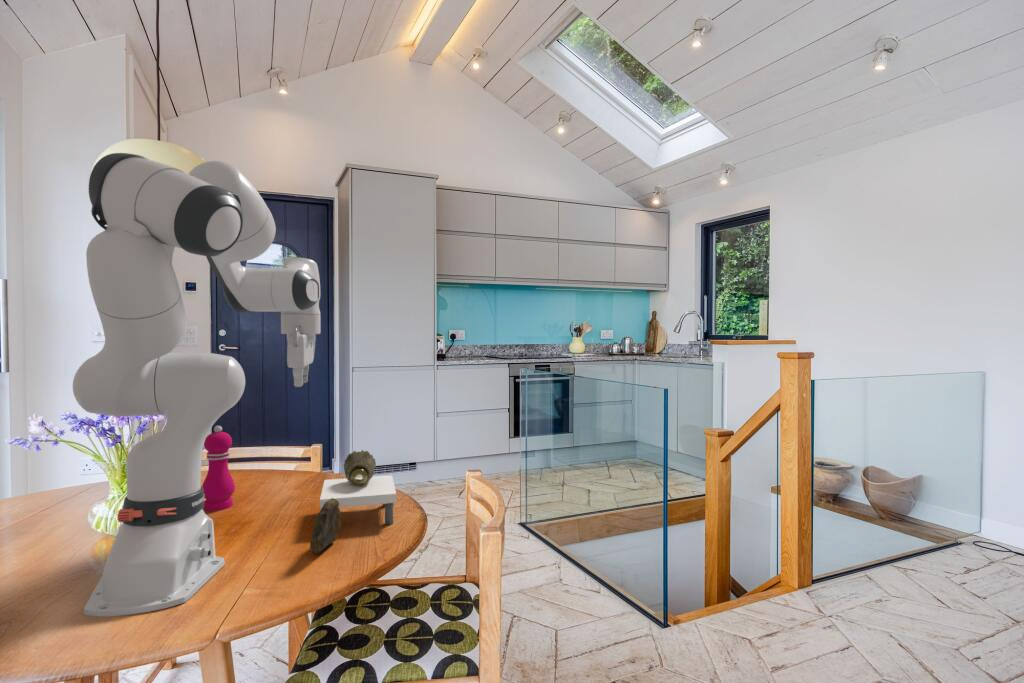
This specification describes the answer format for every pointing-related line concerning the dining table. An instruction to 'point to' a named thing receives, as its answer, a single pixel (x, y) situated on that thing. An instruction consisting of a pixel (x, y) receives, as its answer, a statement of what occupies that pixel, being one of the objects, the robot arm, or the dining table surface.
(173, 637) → the dining table surface
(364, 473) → the cup
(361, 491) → the footstool
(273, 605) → the dining table surface
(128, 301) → the robot arm
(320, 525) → the decorative stone
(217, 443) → the pepper mill
